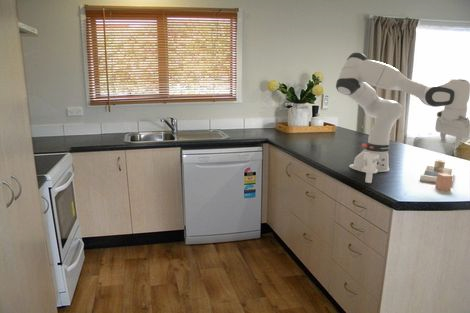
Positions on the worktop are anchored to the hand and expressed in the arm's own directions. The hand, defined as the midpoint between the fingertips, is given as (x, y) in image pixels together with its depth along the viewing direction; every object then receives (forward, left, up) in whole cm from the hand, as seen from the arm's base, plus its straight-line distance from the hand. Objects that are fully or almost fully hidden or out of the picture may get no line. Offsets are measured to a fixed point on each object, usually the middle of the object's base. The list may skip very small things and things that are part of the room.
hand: (449, 144), depth 165 cm
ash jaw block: (+19, +16, -20) cm, 32 cm away
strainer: (-27, +20, -21) cm, 40 cm away
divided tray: (+14, +13, -21) cm, 29 cm away
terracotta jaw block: (-1, -1, -21) cm, 21 cm away
